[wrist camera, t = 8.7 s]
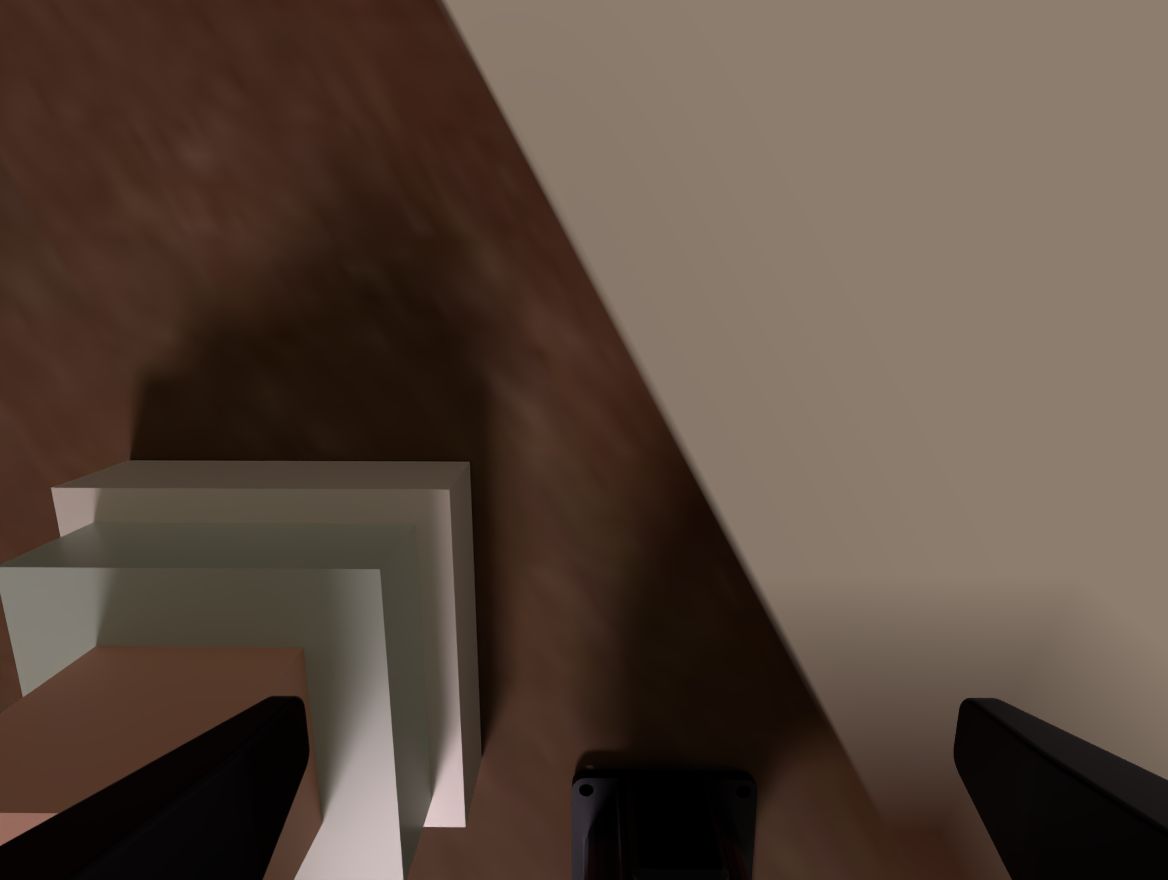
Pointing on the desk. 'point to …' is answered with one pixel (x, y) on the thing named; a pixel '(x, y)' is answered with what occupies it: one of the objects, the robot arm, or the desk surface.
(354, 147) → the desk surface
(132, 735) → the terracotta block
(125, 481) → the tower base
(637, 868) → the robot arm
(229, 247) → the desk surface
